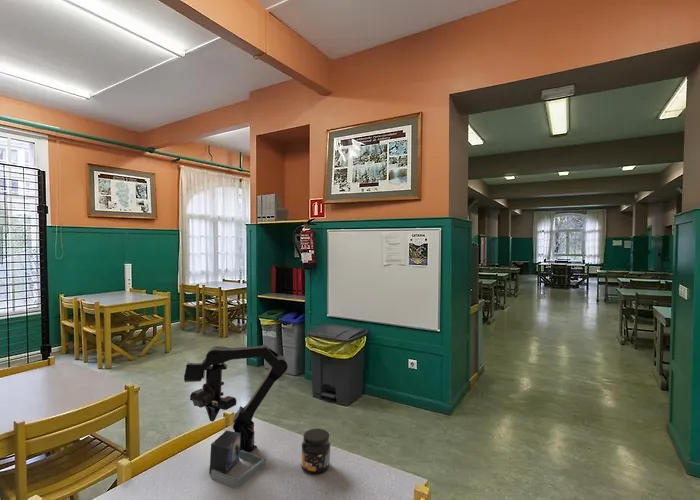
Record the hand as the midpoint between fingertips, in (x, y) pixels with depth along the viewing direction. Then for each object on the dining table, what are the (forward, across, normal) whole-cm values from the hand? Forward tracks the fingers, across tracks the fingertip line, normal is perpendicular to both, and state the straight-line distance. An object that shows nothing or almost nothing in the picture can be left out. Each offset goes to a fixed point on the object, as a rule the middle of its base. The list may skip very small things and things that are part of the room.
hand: (212, 421), depth 138 cm
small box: (+12, +12, -4) cm, 17 cm away
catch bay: (+12, +18, -4) cm, 22 cm away
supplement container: (+12, +40, +11) cm, 43 cm away
